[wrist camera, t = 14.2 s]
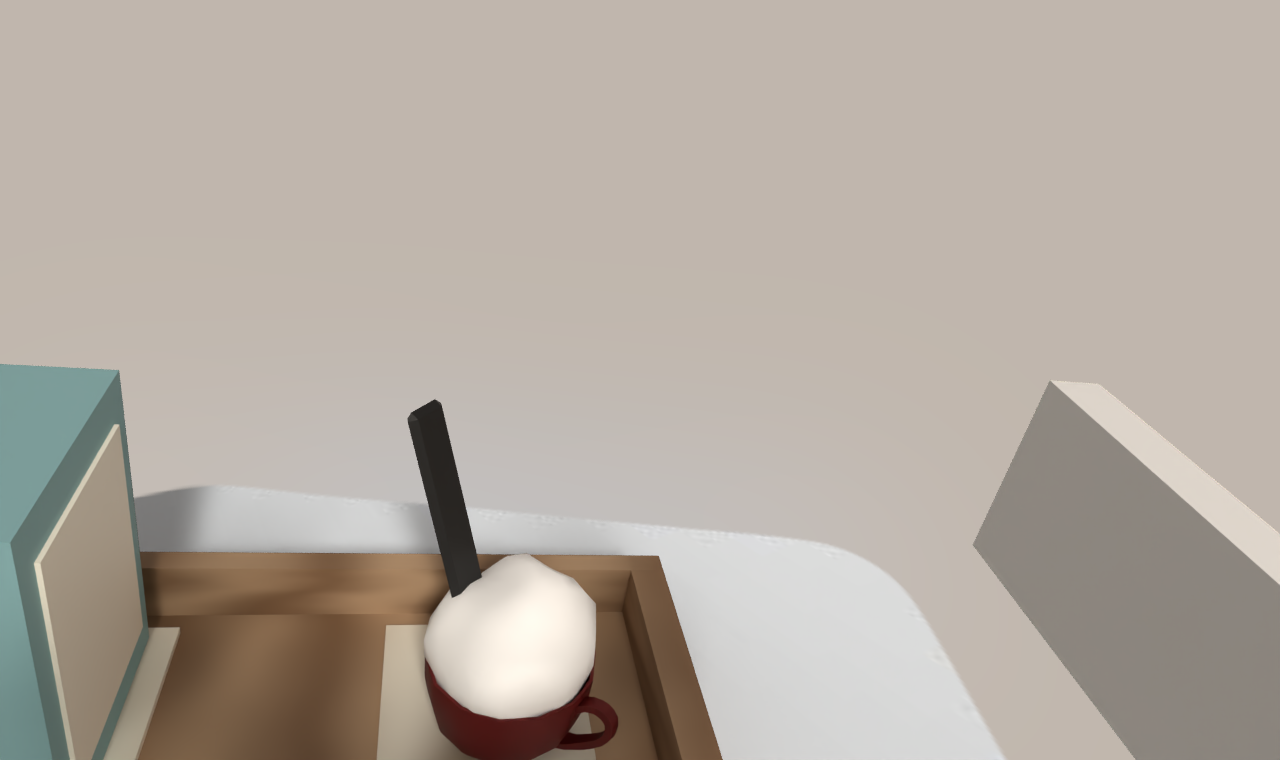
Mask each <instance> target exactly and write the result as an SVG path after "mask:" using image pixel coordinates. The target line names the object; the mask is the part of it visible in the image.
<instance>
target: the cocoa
mask: <svg viewBox="0 0 1280 760" xmlns="http://www.w3.org/2000/svg"><path fill="white" fill-rule="evenodd" d="M408 425H409V428H410V433H411V436H412V440H413V445H414V449H415V453H416V457H417V460H418V465H419V468H420V473H421V476H422V481H423V484H424V489H425V492H426V496H427V500H428V505H429V509H430V513H431V517H432V521H433V525H434V529H435V533H436V537H437V541H438V545H439V549H440V552H441V556H442V560H443V564H444V568H445V572H446V576H447V580H448V584H449V588H450V590H449V591H448V592H447V594H446V595H445V597H444V598H443V600H442V601H441V602H440V604H439V605H438V607H437V608H436V609H435V611H434V612H433V614H432V615H431V617H430V619H429V623H428V627H427V630H426V634H425V637H424V656H425V681H426V686H427V690H428V694H429V697H430V701H431V704H432V707H433V711H434V714H435V717H436V721H437V724H438V727H439V730H440V732H441V733H442V734H443V735H444V736H445V737H446V738H447V739H448V740H449V741H450V742H451V743H453V744H454V745H455V746H456V747H457V748H458V749H459V750H460V751H461V752H462V753H464V754H466V755H467V756H470V757H473V758H476V759H479V760H532V759H534V758H536V757H538V756H540V755H542V754H544V753H546V752H548V751H550V750H552V749H554V748H557V749H562V750H586V749H593V748H597V747H601V746H603V745H605V744H606V743H607V742H609V741H610V740H611V739H612V738H613V737H614V736H615V734H616V731H617V728H618V716H617V714H616V712H615V710H614V709H613V708H612V707H611V706H610V704H608V703H607V702H605V701H603V700H601V699H598V698H596V697H589V694H590V691H591V687H592V683H593V677H594V666H595V655H596V651H595V645H596V603H595V602H594V601H593V600H592V599H591V598H590V597H589V596H588V594H587V593H586V592H585V591H584V590H583V589H582V588H581V586H580V585H579V584H578V583H577V582H576V581H575V579H574V578H572V577H569V576H567V575H565V574H563V573H560V572H558V571H556V570H553V569H551V568H550V567H548V566H546V565H545V564H543V563H542V562H540V561H538V560H537V559H535V558H534V557H532V556H531V555H529V554H527V553H524V554H517V555H511V556H507V557H505V558H503V559H501V560H500V561H498V562H497V563H495V564H494V565H492V566H491V567H490V568H488V569H487V570H485V571H484V572H482V573H481V570H480V566H479V562H478V558H477V553H476V549H475V545H474V541H473V536H472V532H471V528H470V524H469V519H468V515H467V511H466V507H465V503H464V498H463V494H462V490H461V485H460V481H459V477H458V473H457V469H456V465H455V460H454V456H453V452H452V447H451V443H450V439H449V435H448V431H447V426H446V422H445V418H444V413H443V409H442V405H441V403H440V402H438V401H437V400H433V401H431V402H429V403H428V404H426V405H424V406H422V407H420V408H419V409H417V410H415V411H413V412H412V413H411V414H410V416H409V417H408ZM583 712H586V713H591V714H594V715H595V716H597V717H598V718H599V719H601V720H602V722H603V724H604V726H605V730H604V731H602V732H599V733H591V734H574V733H570V732H569V730H570V729H571V728H572V726H573V725H574V723H575V722H576V720H577V719H578V717H579V716H580V714H581V713H583Z"/></svg>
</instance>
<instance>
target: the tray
mask: <svg viewBox="0 0 1280 760" xmlns="http://www.w3.org/2000/svg"><path fill="white" fill-rule="evenodd" d="M507 556H511V555H491V554H477V558H478V562H479V566H480V570H481V573H482V572H484V571H485V570H487V569H488V568H490V567H491V566H492V565H494V564H495V563H497V562H498V561H500V560H501V559H503V558H505V557H507ZM531 556H532V557H534V558H535V559H537V560H538V561H540V562H542V563H543V564H545V565H546V566H548V567H550V568H551V569H553V570H556V571H558V572H560V573H563V574H565V575H567V576H569V577H572V578H574V579H575V581H576V582H577V583H578V584H579V585H580V586H581V588H582V589H583V590H584V591H585V592H586V593H587V594H588V596H589V597H590V598H591V599H592V600H593V601H594V602H595V603H596V645H595V651H596V655H595V666H594V677H593V683H592V687H591V691H590V694H589V697H596V698H598V699H601V700H603V701H605V702H607V703H608V704H610V706H611V707H612V708H613V709H614V710H615V712H616V714H617V716H618V728H617V731H616V734H615V736H614V737H613V738H612V739H611V740H610V741H609V742H607V743H606V744H605V745H603V746H601V747H597V748H593V749H586V750H562V749H557V748H554V749H552V750H550V751H548V752H546V753H544V754H542V755H540V756H538V757H536V758H534V759H532V760H723V759H722V756H721V753H720V750H719V747H718V743H717V740H716V737H715V734H714V731H713V727H712V724H711V721H710V718H709V715H708V712H707V708H706V705H705V702H704V699H703V696H702V692H701V689H700V686H699V683H698V680H697V677H696V673H695V670H694V667H693V664H692V661H691V657H690V654H689V651H688V648H687V645H686V641H685V638H684V635H683V632H682V629H681V626H680V622H679V619H678V616H677V613H676V610H675V606H674V603H673V600H672V597H671V594H670V590H669V587H668V584H667V581H666V578H665V575H664V571H663V568H662V565H661V562H660V559H659V556H622V555H531ZM140 560H141V569H142V577H143V586H144V595H145V604H146V613H147V621H148V630H149V639H148V641H147V644H146V647H145V649H144V652H143V655H142V657H141V660H140V663H139V665H138V668H137V671H136V673H135V676H134V679H133V681H132V684H131V687H130V689H129V692H128V695H127V697H126V700H125V703H124V705H123V708H122V711H121V713H120V716H119V719H118V721H117V724H116V727H115V729H114V732H113V735H112V737H111V740H110V743H109V745H108V748H107V751H106V753H105V756H104V759H103V760H479V759H476V758H473V757H470V756H467V755H466V754H464V753H462V752H461V751H460V750H459V749H458V748H457V747H456V746H455V745H454V744H453V743H451V742H450V741H449V740H448V739H447V738H446V737H445V736H444V735H443V734H442V733H441V732H440V730H439V727H438V724H437V721H436V717H435V714H434V711H433V707H432V704H431V701H430V697H429V694H428V690H427V686H426V681H425V656H424V637H425V634H426V630H427V627H428V623H429V619H430V617H431V615H432V614H433V612H434V611H435V609H436V608H437V607H438V605H439V604H440V602H441V601H442V600H443V598H444V597H445V595H446V594H447V592H448V591H449V590H450V588H449V584H448V580H447V576H446V572H445V568H444V564H443V560H442V556H441V554H360V553H228V552H140ZM604 730H605V726H604V724H603V722H602V720H601V719H599V718H598V717H597V716H595V715H594V714H591V713H586V712H583V713H581V714H580V716H579V717H578V719H577V720H576V722H575V723H574V725H573V726H572V728H571V729H570V730H569V732H570V733H574V734H591V733H599V732H602V731H604Z"/></svg>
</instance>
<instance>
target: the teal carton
mask: <svg viewBox="0 0 1280 760" xmlns="http://www.w3.org/2000/svg"><path fill="white" fill-rule="evenodd" d="M120 384H121V383H120V375H119V370H104V369H85V368H65V367H45V366H26V365H6V364H5V365H4V364H0V760H103V759H104V756H105V753H106V751H107V748H108V745H109V743H110V740H111V737H112V735H113V732H114V729H115V727H116V724H117V721H118V719H119V716H120V713H121V711H122V708H123V705H124V703H125V700H126V697H127V695H128V692H129V689H130V687H131V684H132V681H133V679H134V676H135V673H136V671H137V668H138V665H139V663H140V660H141V657H142V655H143V652H144V649H145V647H146V644H147V641H148V639H149V630H148V621H147V613H146V604H145V595H144V586H143V577H142V569H141V560H140V551H139V542H138V533H137V524H136V516H135V507H134V498H133V489H132V480H131V472H130V463H129V454H128V445H127V436H126V428H125V420H124V410H123V401H122V393H121V385H120Z"/></svg>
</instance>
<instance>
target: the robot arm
mask: <svg viewBox="0 0 1280 760" xmlns="http://www.w3.org/2000/svg"><path fill="white" fill-rule="evenodd" d="M973 546H974V547H975V549H976V550H977V551H978V552H979V554H980V555H981V556H982V558H983V559H984V560H985V562H986V563H987V564H988V566H989V567H990V568H991V570H992V571H993V572H994V574H995V575H996V576H997V578H998V579H999V580H1000V581H1001V583H1002V584H1003V585H1004V587H1005V588H1006V589H1007V591H1008V592H1009V593H1010V595H1011V596H1012V597H1013V599H1014V600H1015V601H1016V603H1017V604H1018V605H1019V607H1020V608H1021V609H1022V610H1023V612H1024V613H1025V614H1026V616H1027V617H1028V618H1029V620H1030V621H1031V622H1032V624H1033V625H1034V626H1035V628H1036V629H1037V630H1038V631H1039V633H1040V634H1041V635H1042V637H1043V638H1044V639H1045V640H1046V642H1047V643H1048V645H1049V646H1050V647H1051V649H1052V650H1053V651H1054V652H1055V654H1056V655H1057V656H1058V658H1059V659H1060V660H1061V662H1062V663H1063V664H1064V666H1065V667H1066V668H1067V670H1068V671H1069V672H1070V674H1071V675H1072V676H1073V678H1074V679H1075V680H1076V682H1077V683H1078V684H1079V685H1080V687H1081V688H1082V689H1083V691H1084V692H1085V693H1086V695H1087V696H1088V697H1089V699H1090V700H1091V701H1092V702H1093V704H1094V705H1095V706H1096V707H1097V709H1098V710H1099V712H1100V713H1101V714H1102V716H1103V717H1104V718H1105V720H1106V721H1107V722H1108V724H1109V725H1110V726H1111V728H1112V729H1113V730H1114V732H1115V733H1116V734H1117V736H1118V737H1119V738H1120V739H1121V741H1122V742H1123V743H1124V745H1125V746H1126V747H1127V748H1128V750H1129V751H1130V753H1131V754H1132V755H1133V757H1134V758H1135V759H1136V760H1280V534H1279V533H1278V532H1277V531H1276V530H1274V529H1273V528H1272V527H1271V526H1270V525H1268V524H1267V523H1266V522H1265V521H1263V520H1262V519H1261V518H1260V517H1259V516H1258V515H1256V514H1255V513H1254V512H1253V511H1251V510H1250V509H1249V508H1248V507H1247V506H1245V505H1244V504H1243V503H1242V502H1241V501H1239V500H1238V499H1237V498H1236V497H1235V496H1233V495H1232V494H1231V493H1230V492H1229V491H1227V490H1226V489H1225V488H1224V487H1222V486H1221V485H1220V484H1219V483H1218V482H1217V481H1215V480H1214V479H1213V478H1212V477H1211V476H1209V475H1208V474H1207V473H1206V472H1205V471H1203V470H1202V469H1201V468H1200V467H1198V466H1197V465H1196V464H1195V463H1193V462H1192V461H1191V460H1190V459H1189V458H1188V457H1186V456H1185V455H1184V454H1183V453H1182V452H1180V451H1179V450H1178V449H1177V448H1176V447H1174V446H1173V445H1172V444H1171V443H1170V442H1168V441H1167V440H1166V439H1165V438H1163V437H1162V436H1161V435H1160V434H1159V433H1158V432H1156V431H1155V430H1154V429H1153V428H1152V427H1150V426H1149V425H1148V424H1147V423H1146V422H1144V421H1143V420H1142V419H1141V418H1139V417H1138V416H1137V415H1136V414H1134V413H1133V412H1132V411H1131V410H1130V409H1129V408H1127V407H1126V406H1125V405H1124V404H1122V403H1121V402H1120V401H1119V400H1118V399H1117V398H1115V397H1114V396H1113V395H1112V394H1111V393H1109V392H1108V391H1107V390H1106V389H1105V388H1103V387H1102V386H1101V385H1100V384H1092V383H1077V382H1065V381H1051V380H1050V381H1049V383H1048V386H1047V388H1046V390H1045V392H1044V394H1043V396H1042V398H1041V400H1040V403H1039V405H1038V407H1037V409H1036V411H1035V414H1034V415H1033V418H1032V420H1031V422H1030V424H1029V426H1028V428H1027V430H1026V432H1025V435H1024V437H1023V439H1022V441H1021V443H1020V445H1019V447H1018V450H1017V452H1016V454H1015V456H1014V458H1013V460H1012V462H1011V464H1010V467H1009V469H1008V471H1007V473H1006V475H1005V477H1004V480H1003V482H1002V484H1001V486H1000V488H999V490H998V492H997V494H996V496H995V499H994V501H993V503H992V505H991V507H990V509H989V511H988V514H987V516H986V518H985V520H984V522H983V524H982V526H981V529H980V531H979V533H978V535H977V537H976V539H975V541H974V543H973Z"/></svg>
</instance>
